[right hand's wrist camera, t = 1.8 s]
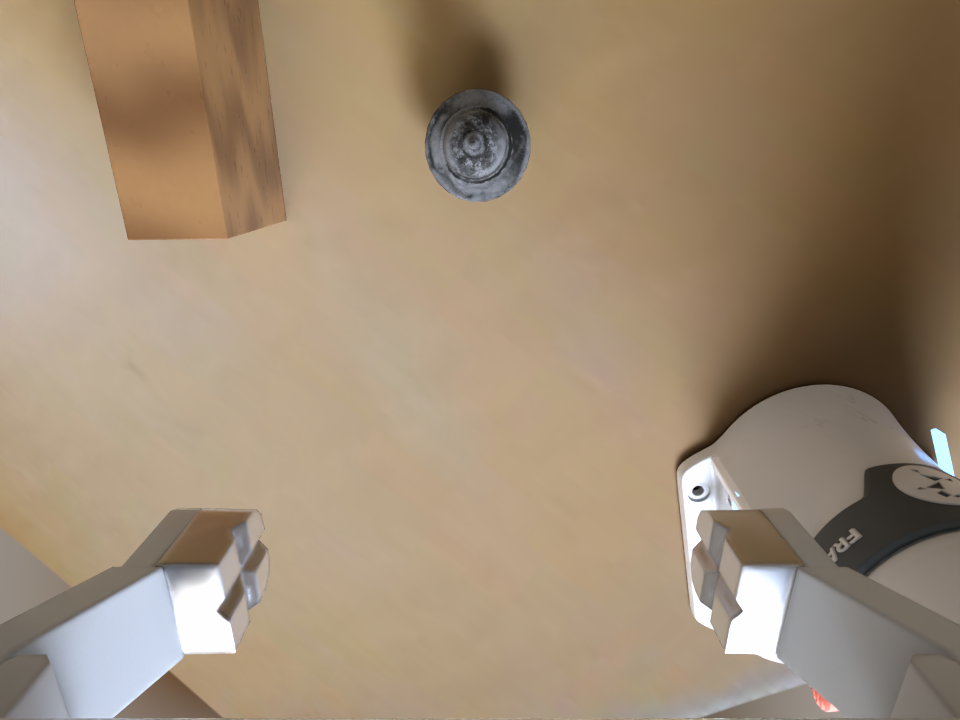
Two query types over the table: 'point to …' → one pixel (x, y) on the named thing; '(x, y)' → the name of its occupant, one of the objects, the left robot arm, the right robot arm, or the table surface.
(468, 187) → the grey chess piece
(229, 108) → the bar
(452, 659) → the table surface
